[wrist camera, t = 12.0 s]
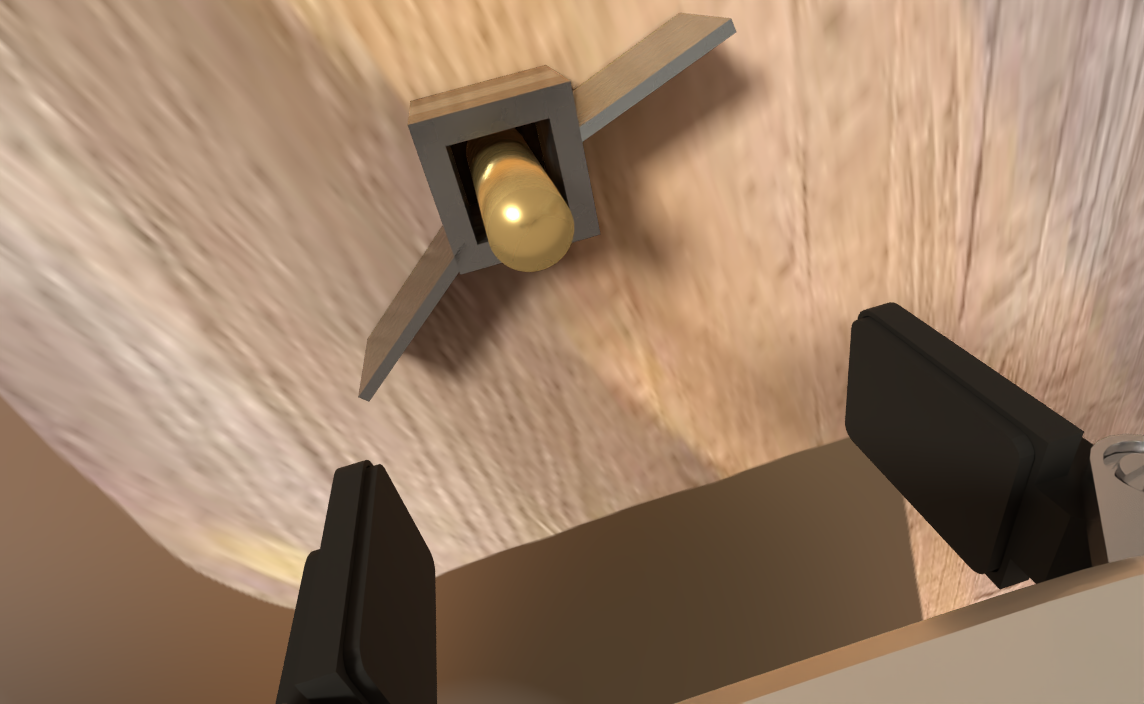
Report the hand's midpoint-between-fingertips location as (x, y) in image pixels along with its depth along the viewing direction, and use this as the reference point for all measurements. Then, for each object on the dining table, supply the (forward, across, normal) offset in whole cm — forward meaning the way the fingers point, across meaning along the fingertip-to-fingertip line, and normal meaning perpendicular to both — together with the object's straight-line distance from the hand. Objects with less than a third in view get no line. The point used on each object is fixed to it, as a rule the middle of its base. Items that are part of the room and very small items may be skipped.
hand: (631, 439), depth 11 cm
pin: (+24, 0, 0) cm, 24 cm away
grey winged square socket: (+24, 0, +2) cm, 24 cm away
